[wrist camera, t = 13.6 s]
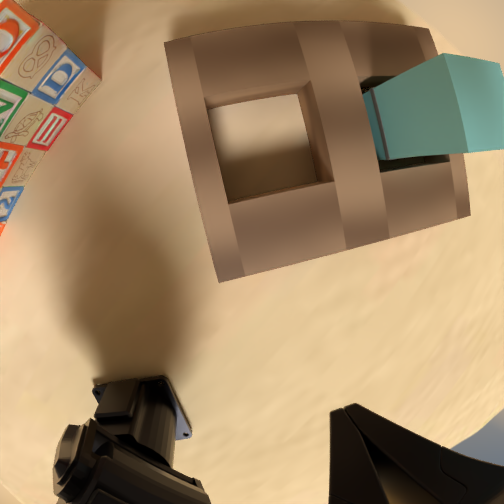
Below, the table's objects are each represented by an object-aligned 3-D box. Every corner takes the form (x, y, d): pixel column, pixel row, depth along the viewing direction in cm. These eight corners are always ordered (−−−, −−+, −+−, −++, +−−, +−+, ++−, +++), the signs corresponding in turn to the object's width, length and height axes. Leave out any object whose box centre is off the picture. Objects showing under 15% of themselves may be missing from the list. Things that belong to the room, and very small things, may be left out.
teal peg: (416, 154, 20) (520, 148, 10) (365, 162, 20) (468, 154, 10) (402, 96, 19) (499, 62, 9) (351, 99, 19) (442, 51, 9)
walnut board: (445, 211, 21) (470, 215, 18) (218, 268, 20) (218, 283, 17) (407, 41, 18) (428, 28, 15) (170, 61, 17) (163, 42, 14)
